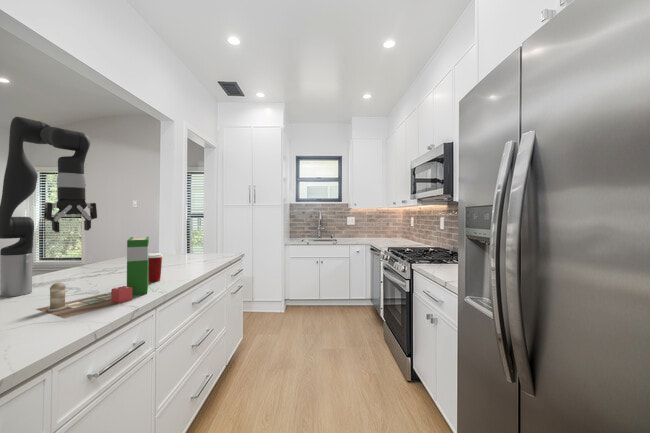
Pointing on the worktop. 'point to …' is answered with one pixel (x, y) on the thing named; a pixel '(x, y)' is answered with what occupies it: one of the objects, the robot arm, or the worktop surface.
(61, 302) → the birch pawn
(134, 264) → the hardback book
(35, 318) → the worktop surface
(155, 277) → the paper cup
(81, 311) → the game board
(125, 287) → the red die
